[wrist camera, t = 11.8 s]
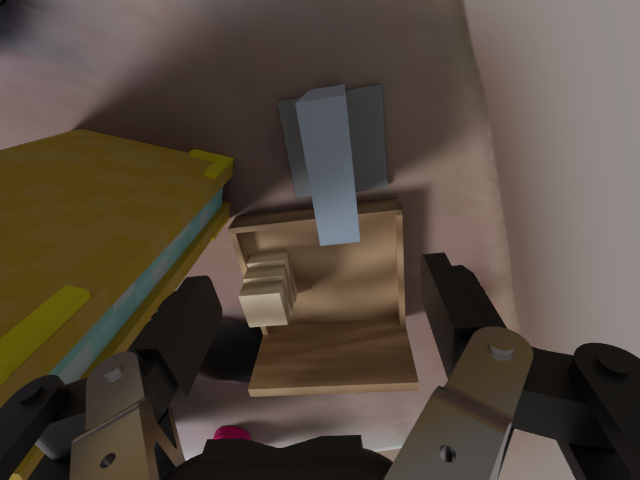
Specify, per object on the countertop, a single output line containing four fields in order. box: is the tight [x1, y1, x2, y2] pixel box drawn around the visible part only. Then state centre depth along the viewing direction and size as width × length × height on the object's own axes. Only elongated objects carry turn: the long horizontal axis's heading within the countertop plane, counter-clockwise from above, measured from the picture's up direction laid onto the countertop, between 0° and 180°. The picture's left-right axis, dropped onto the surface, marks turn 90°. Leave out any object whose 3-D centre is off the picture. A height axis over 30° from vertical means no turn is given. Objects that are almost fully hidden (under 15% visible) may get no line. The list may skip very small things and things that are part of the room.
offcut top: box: [238, 280, 291, 327], centre depth 32 cm, size 4×4×2 cm
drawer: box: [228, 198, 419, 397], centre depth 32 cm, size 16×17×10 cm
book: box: [0, 129, 234, 480], centre depth 21 cm, size 17×7×25 cm, turn 78°
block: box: [295, 84, 360, 246], centre depth 25 cm, size 10×3×9 cm, turn 9°
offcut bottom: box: [247, 250, 298, 305], centre depth 35 cm, size 6×4×2 cm, turn 9°
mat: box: [277, 84, 388, 198], centre depth 29 cm, size 9×9×1 cm
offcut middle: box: [243, 264, 294, 314], centre depth 33 cm, size 5×4×2 cm
